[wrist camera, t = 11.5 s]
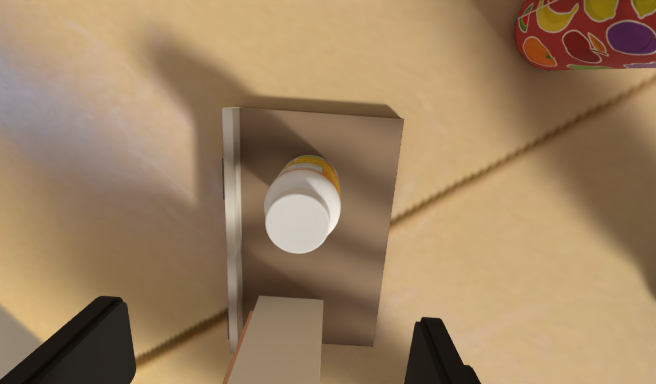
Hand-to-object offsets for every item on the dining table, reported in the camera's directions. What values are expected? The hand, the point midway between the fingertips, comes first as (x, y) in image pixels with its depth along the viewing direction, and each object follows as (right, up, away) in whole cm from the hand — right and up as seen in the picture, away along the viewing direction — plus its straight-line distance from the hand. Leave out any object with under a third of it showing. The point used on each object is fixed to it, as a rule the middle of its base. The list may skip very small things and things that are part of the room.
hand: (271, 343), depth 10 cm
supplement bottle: (0, +6, +18) cm, 19 cm away
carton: (-2, -8, +22) cm, 24 cm away
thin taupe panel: (0, +1, +21) cm, 21 cm away
